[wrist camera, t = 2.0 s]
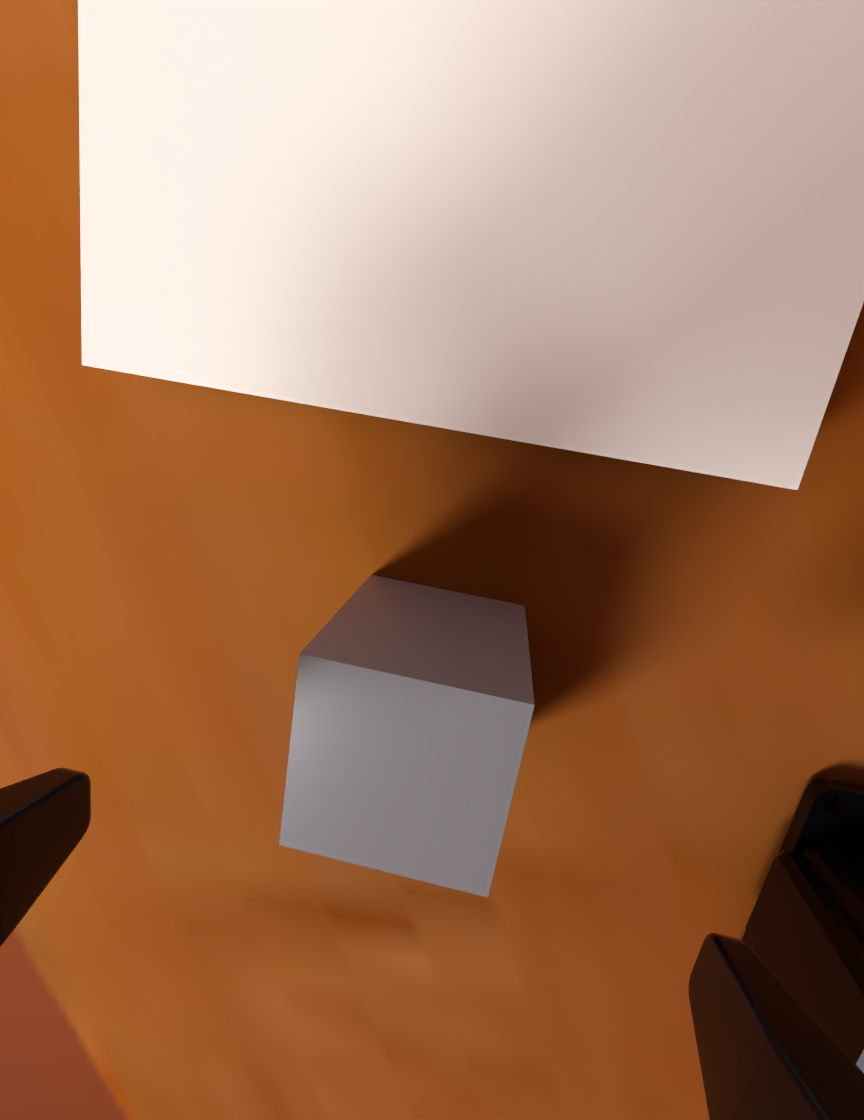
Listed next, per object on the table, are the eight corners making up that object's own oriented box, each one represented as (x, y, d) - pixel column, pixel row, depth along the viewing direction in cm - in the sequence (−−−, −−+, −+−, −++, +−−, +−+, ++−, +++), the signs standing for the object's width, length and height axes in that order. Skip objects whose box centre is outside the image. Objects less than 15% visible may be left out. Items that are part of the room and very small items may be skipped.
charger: (524, 605, 13) (534, 705, 9) (494, 740, 14) (487, 897, 10) (371, 574, 14) (299, 653, 9) (352, 709, 15) (278, 844, 10)
